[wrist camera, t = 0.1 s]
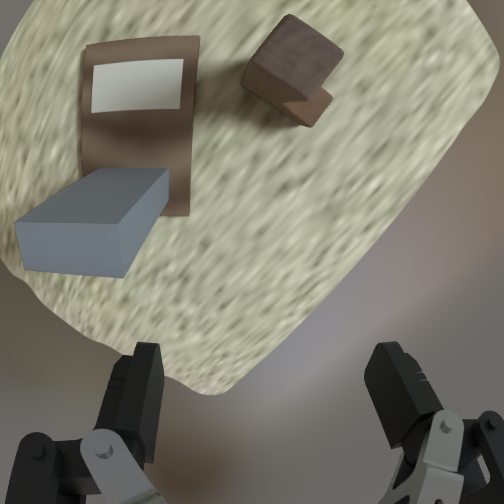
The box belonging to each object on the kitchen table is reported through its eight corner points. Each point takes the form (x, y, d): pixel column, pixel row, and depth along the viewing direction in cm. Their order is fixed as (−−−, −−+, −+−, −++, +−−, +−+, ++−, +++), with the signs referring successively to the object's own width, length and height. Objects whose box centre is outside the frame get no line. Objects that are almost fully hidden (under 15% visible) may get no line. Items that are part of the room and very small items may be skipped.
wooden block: (323, 98, 33) (399, 97, 17) (302, 126, 34) (363, 146, 18) (260, 55, 30) (289, 10, 14) (239, 84, 31) (247, 62, 15)
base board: (90, 46, 27) (85, 44, 26) (200, 37, 28) (199, 35, 27) (89, 210, 37) (85, 214, 36) (189, 213, 38) (188, 216, 37)
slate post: (99, 168, 33) (13, 222, 17) (168, 167, 34) (117, 224, 18) (101, 199, 35) (24, 269, 19) (168, 200, 36) (123, 278, 20)
